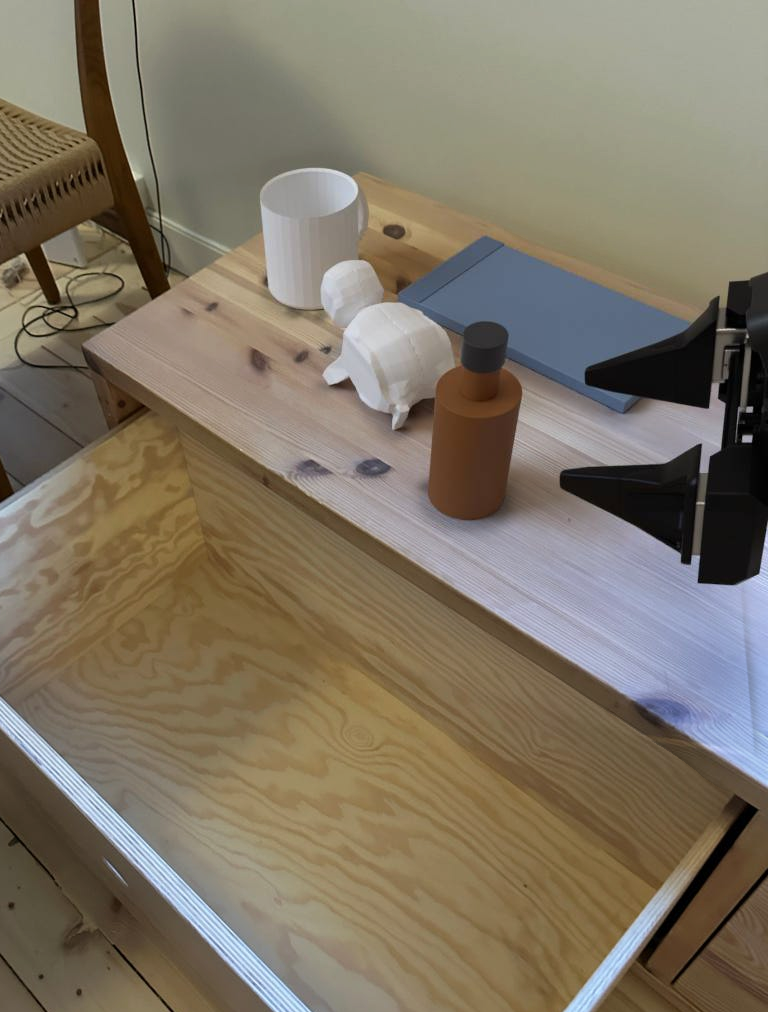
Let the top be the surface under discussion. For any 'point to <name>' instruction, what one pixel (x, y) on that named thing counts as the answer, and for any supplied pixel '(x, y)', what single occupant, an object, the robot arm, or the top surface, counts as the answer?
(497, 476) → the brown bottle
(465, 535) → the top surface
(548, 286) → the blue slab
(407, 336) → the white turtle figurine
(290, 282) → the mug
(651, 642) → the top surface
